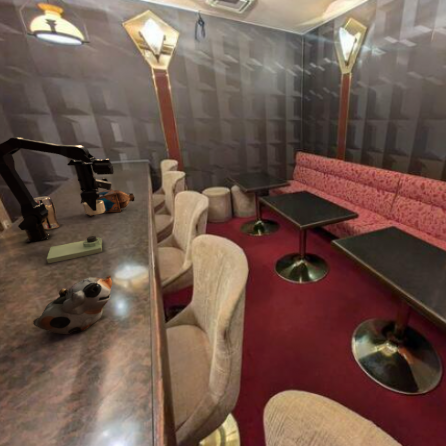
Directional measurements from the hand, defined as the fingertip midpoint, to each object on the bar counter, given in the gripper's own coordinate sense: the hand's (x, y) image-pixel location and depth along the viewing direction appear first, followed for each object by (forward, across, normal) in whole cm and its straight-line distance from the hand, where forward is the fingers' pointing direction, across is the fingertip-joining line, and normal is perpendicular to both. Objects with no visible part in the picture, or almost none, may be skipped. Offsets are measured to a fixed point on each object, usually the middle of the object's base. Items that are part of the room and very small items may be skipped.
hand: (94, 208), depth 115 cm
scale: (+12, -19, +8) cm, 24 cm away
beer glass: (+12, +19, +19) cm, 29 cm away
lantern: (+12, +33, -6) cm, 35 cm away
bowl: (+2, 0, 0) cm, 2 cm away
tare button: (+9, -19, +3) cm, 21 cm away
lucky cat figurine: (+12, -67, +6) cm, 69 cm away
